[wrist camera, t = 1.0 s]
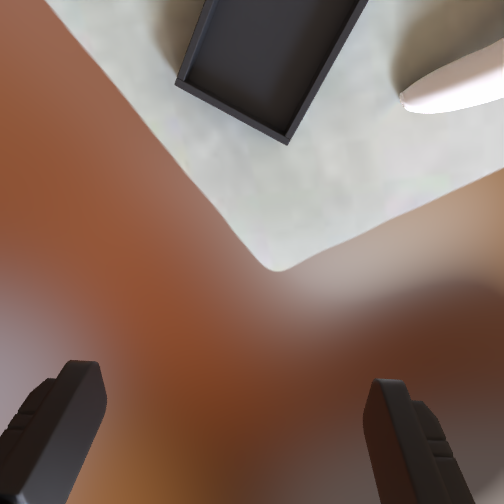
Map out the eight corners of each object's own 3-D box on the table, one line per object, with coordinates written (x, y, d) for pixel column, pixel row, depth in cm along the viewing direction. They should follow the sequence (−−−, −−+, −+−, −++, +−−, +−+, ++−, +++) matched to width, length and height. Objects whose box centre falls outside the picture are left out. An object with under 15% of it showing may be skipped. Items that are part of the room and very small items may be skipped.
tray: (262, -135, 25) (261, -152, 23) (388, -46, 27) (398, -54, 25) (180, 82, 32) (174, 84, 30) (286, 139, 34) (287, 146, 32)
